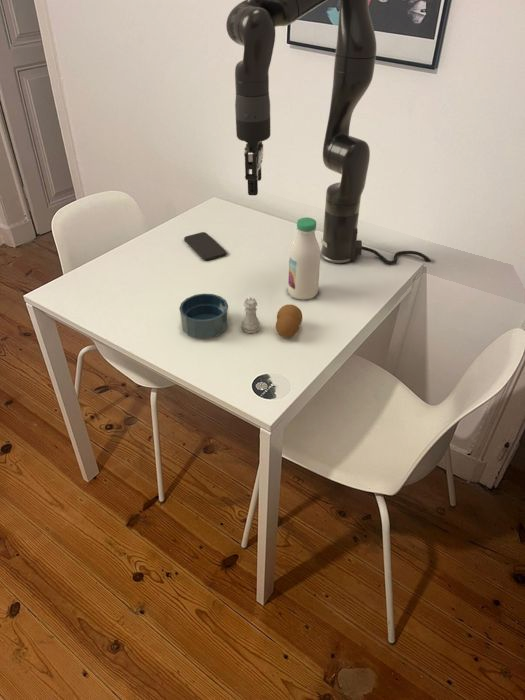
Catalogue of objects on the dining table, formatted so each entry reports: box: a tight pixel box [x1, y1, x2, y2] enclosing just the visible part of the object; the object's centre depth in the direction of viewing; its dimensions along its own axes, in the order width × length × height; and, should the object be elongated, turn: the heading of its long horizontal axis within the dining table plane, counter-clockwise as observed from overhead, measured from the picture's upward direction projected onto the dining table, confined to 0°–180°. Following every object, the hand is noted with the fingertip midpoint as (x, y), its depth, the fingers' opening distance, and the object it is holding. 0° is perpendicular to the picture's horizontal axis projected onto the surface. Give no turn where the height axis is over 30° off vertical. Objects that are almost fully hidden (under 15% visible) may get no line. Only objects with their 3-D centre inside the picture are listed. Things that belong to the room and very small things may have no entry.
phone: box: [183, 231, 227, 261], centre depth 157 cm, size 7×1×15 cm
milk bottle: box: [287, 217, 321, 300], centre depth 132 cm, size 8×8×20 cm
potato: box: [275, 303, 303, 339], centre depth 123 cm, size 6×9×6 cm
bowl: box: [178, 293, 230, 339], centre depth 125 cm, size 11×11×6 cm
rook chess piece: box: [241, 297, 261, 334], centre depth 124 cm, size 4×4×8 cm
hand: (254, 187), depth 125 cm, fingers open, 8 cm apart
